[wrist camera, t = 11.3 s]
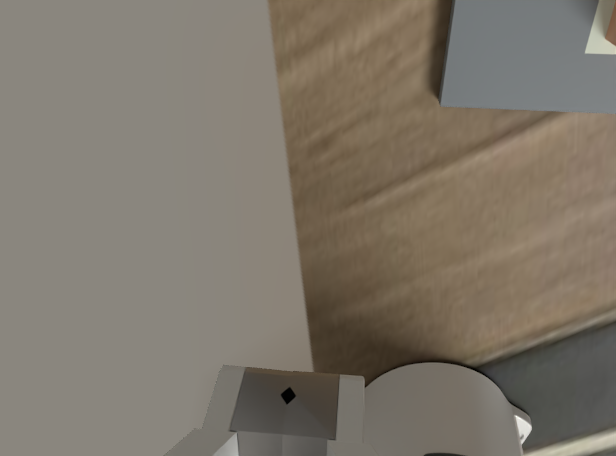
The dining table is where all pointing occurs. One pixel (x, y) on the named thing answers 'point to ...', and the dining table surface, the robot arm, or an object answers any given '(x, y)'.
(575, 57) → the board
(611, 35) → the t block
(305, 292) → the dining table surface
